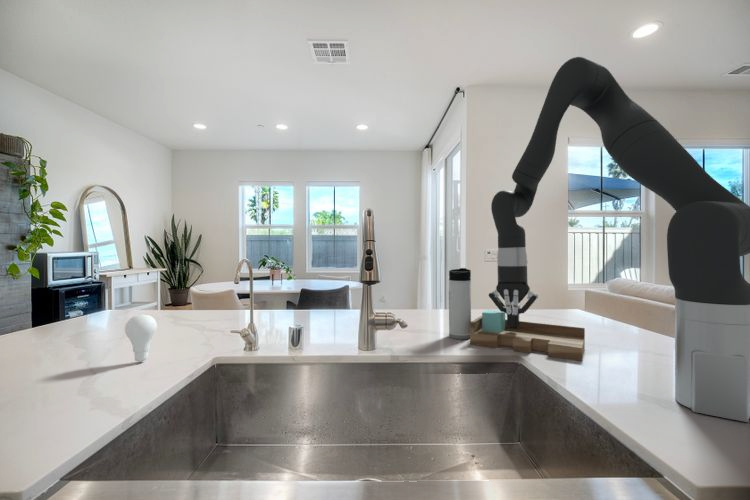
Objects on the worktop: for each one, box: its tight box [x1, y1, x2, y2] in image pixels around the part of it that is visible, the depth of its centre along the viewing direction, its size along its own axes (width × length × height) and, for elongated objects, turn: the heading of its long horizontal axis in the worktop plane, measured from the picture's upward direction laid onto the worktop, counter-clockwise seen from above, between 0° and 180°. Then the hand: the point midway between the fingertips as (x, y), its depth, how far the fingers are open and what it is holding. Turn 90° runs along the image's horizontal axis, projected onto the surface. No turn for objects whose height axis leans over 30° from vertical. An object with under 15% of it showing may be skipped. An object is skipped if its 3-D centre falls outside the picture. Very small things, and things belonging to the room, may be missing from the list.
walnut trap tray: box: [469, 315, 586, 362], centre depth 91 cm, size 11×26×6 cm, turn 56°
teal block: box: [481, 309, 506, 333], centre depth 97 cm, size 5×5×5 cm
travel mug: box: [448, 267, 472, 341], centre depth 102 cm, size 6×7×20 cm
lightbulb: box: [124, 313, 158, 363], centre depth 80 cm, size 6×6×11 cm
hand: (513, 327), depth 95 cm, fingers closed
